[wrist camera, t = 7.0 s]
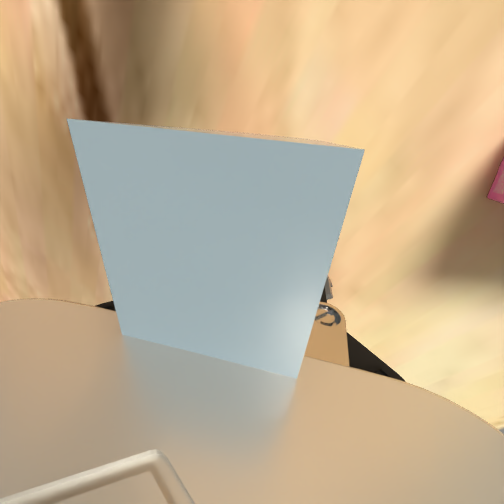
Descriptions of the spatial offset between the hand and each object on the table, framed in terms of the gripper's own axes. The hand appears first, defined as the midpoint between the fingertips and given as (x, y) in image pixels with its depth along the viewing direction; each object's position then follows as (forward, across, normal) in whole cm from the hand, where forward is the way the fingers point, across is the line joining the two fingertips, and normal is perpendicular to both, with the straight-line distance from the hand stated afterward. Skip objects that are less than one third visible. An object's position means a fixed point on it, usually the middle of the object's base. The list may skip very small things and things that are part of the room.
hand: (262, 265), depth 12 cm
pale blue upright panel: (+2, 0, 0) cm, 2 cm away
